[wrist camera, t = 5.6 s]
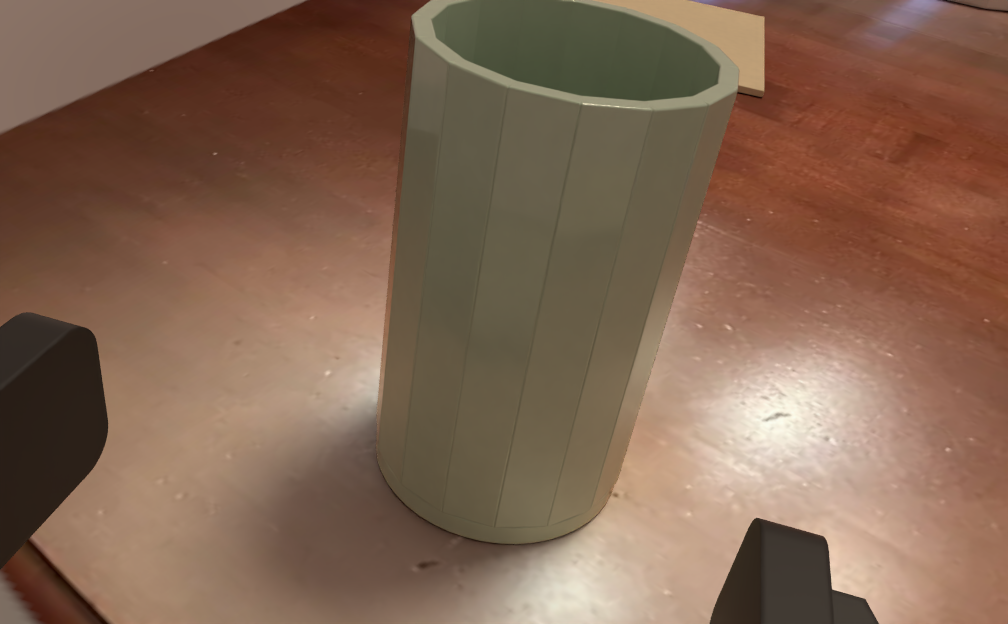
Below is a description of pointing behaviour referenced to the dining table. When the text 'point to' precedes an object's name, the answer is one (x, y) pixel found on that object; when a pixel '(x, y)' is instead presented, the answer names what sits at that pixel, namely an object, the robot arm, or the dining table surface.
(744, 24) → the felt mat
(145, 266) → the dining table surface
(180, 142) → the dining table surface
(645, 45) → the pen cup
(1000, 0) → the laptop
